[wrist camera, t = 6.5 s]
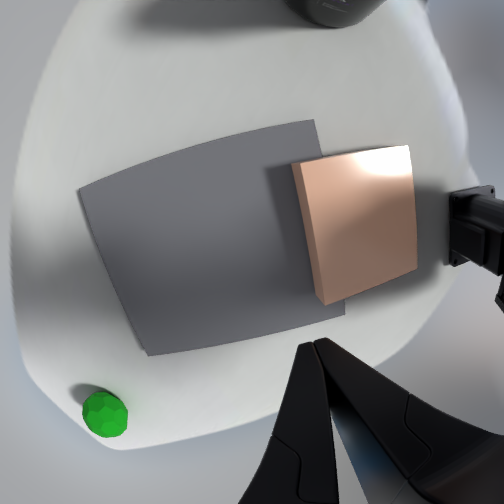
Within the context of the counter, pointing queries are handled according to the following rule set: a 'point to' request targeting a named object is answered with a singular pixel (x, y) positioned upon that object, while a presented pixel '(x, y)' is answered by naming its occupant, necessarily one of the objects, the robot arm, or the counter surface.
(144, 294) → the mat
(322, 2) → the supplement bottle
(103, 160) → the counter surface
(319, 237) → the tile
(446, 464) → the robot arm
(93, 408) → the polyhedron
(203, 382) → the counter surface
